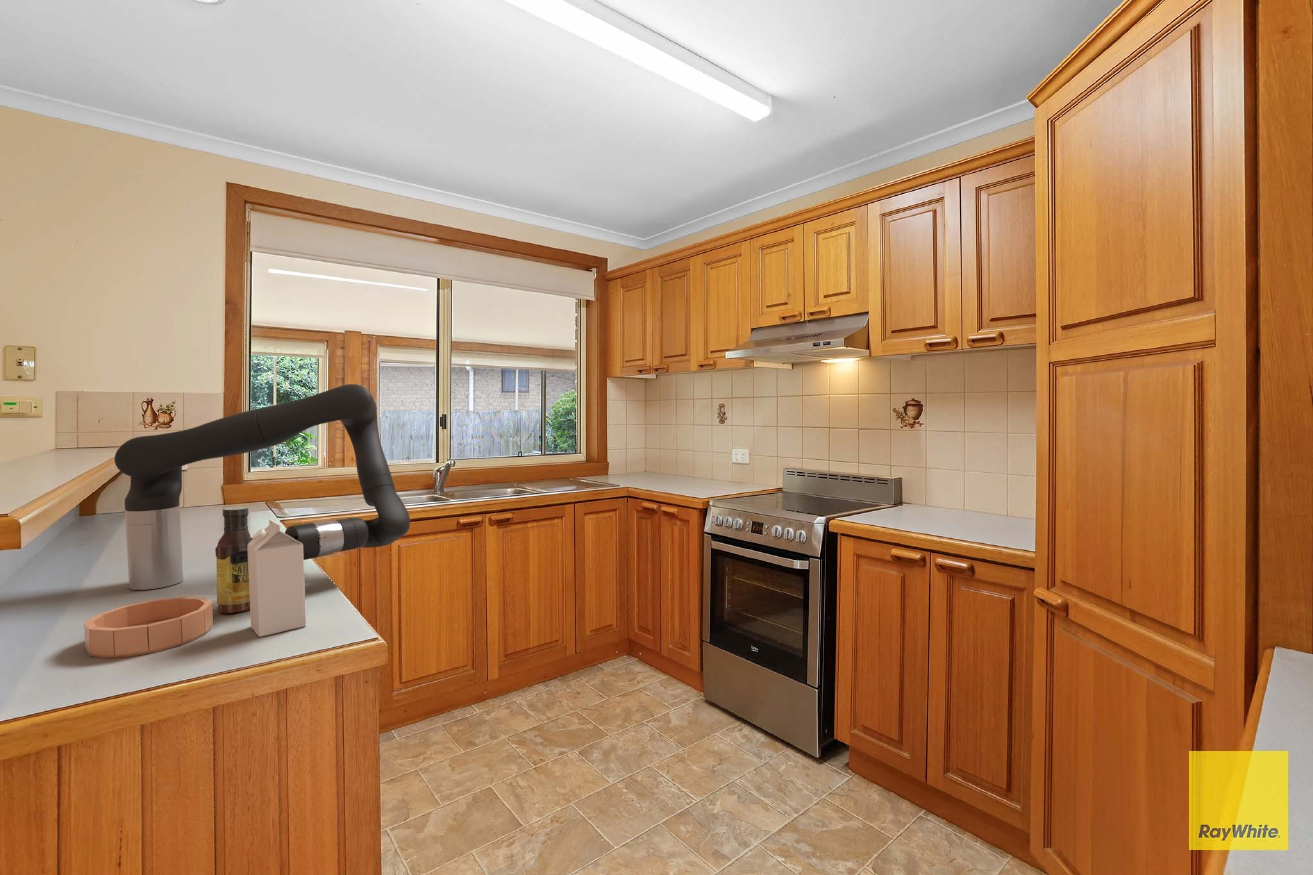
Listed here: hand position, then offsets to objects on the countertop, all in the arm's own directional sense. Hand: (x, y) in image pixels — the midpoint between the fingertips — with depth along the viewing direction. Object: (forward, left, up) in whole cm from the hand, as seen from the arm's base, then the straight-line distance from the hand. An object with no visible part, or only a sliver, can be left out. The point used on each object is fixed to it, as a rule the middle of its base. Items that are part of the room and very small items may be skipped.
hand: (223, 555), depth 112 cm
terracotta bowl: (+5, -12, -11) cm, 17 cm away
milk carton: (+17, +3, -11) cm, 20 cm away
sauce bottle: (0, +2, -11) cm, 11 cm away
